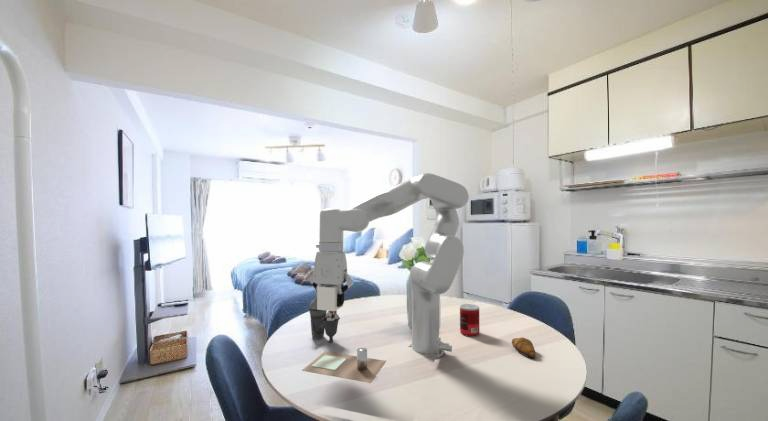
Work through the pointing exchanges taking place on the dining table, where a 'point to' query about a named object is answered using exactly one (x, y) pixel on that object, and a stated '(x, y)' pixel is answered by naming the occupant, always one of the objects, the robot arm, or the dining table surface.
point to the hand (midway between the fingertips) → (330, 304)
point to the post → (361, 359)
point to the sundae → (331, 324)
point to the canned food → (469, 319)
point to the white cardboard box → (327, 298)
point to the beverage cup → (316, 320)
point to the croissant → (524, 346)
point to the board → (344, 367)
